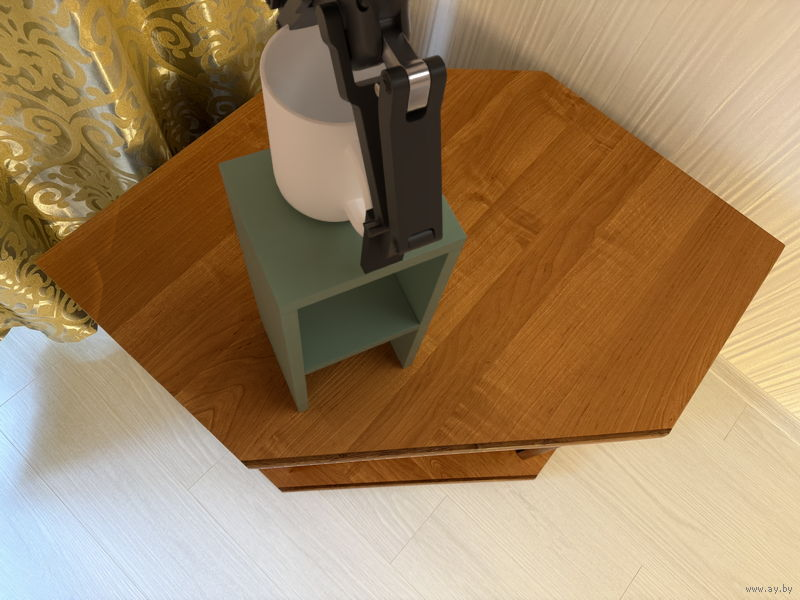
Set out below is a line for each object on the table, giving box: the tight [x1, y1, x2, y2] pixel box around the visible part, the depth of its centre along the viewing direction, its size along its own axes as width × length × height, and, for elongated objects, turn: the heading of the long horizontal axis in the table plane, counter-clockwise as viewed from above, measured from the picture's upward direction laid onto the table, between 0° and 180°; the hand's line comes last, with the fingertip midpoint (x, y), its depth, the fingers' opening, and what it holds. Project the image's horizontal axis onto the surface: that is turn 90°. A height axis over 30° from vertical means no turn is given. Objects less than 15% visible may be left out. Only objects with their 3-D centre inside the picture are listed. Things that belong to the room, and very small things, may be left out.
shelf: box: [218, 147, 468, 413], centre depth 56 cm, size 12×14×30 cm
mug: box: [259, 24, 386, 237], centre depth 37 cm, size 12×8×10 cm
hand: (342, 185), depth 40 cm, fingers closed on mug, 12 cm apart
